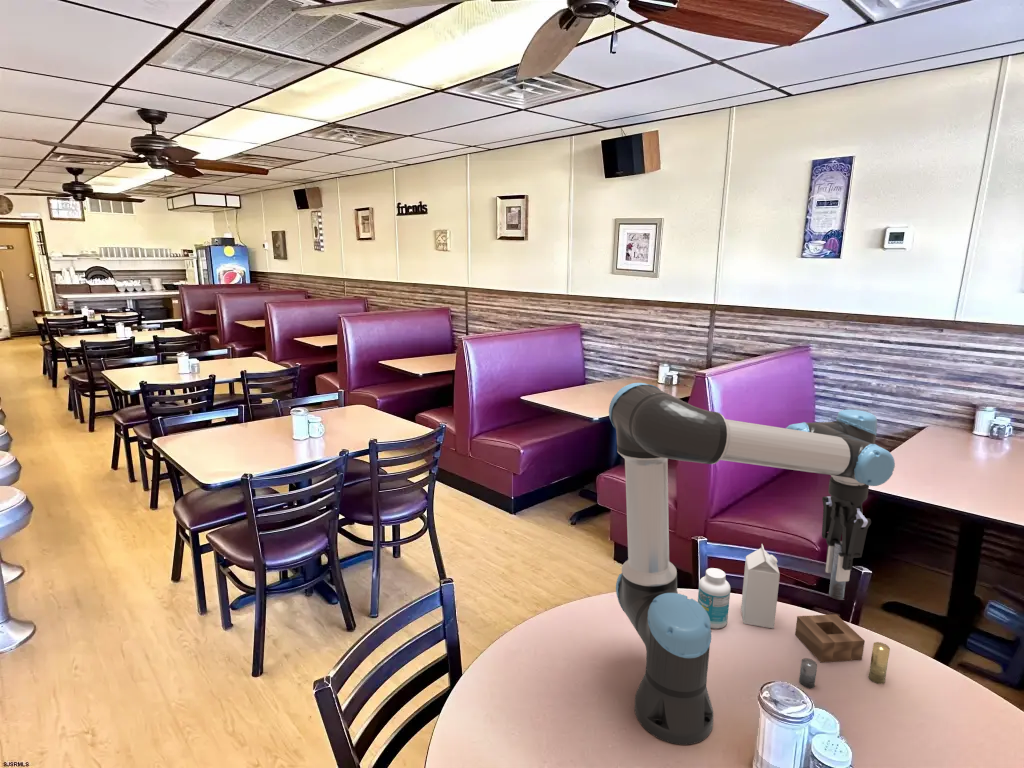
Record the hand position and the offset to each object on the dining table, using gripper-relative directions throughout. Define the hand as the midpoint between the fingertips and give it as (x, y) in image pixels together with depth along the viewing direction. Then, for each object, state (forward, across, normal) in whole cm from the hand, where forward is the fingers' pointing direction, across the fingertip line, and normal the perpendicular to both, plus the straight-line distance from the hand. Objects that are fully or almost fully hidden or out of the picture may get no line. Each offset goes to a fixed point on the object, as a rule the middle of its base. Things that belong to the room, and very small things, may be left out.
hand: (837, 576), depth 130 cm
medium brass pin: (+18, -11, -4) cm, 22 cm away
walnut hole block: (+18, 0, 0) cm, 18 cm away
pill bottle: (+19, +12, +23) cm, 32 cm away
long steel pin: (+5, 0, 0) cm, 5 cm away
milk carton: (+19, +12, +11) cm, 25 cm away
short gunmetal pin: (+18, -11, +12) cm, 25 cm away
